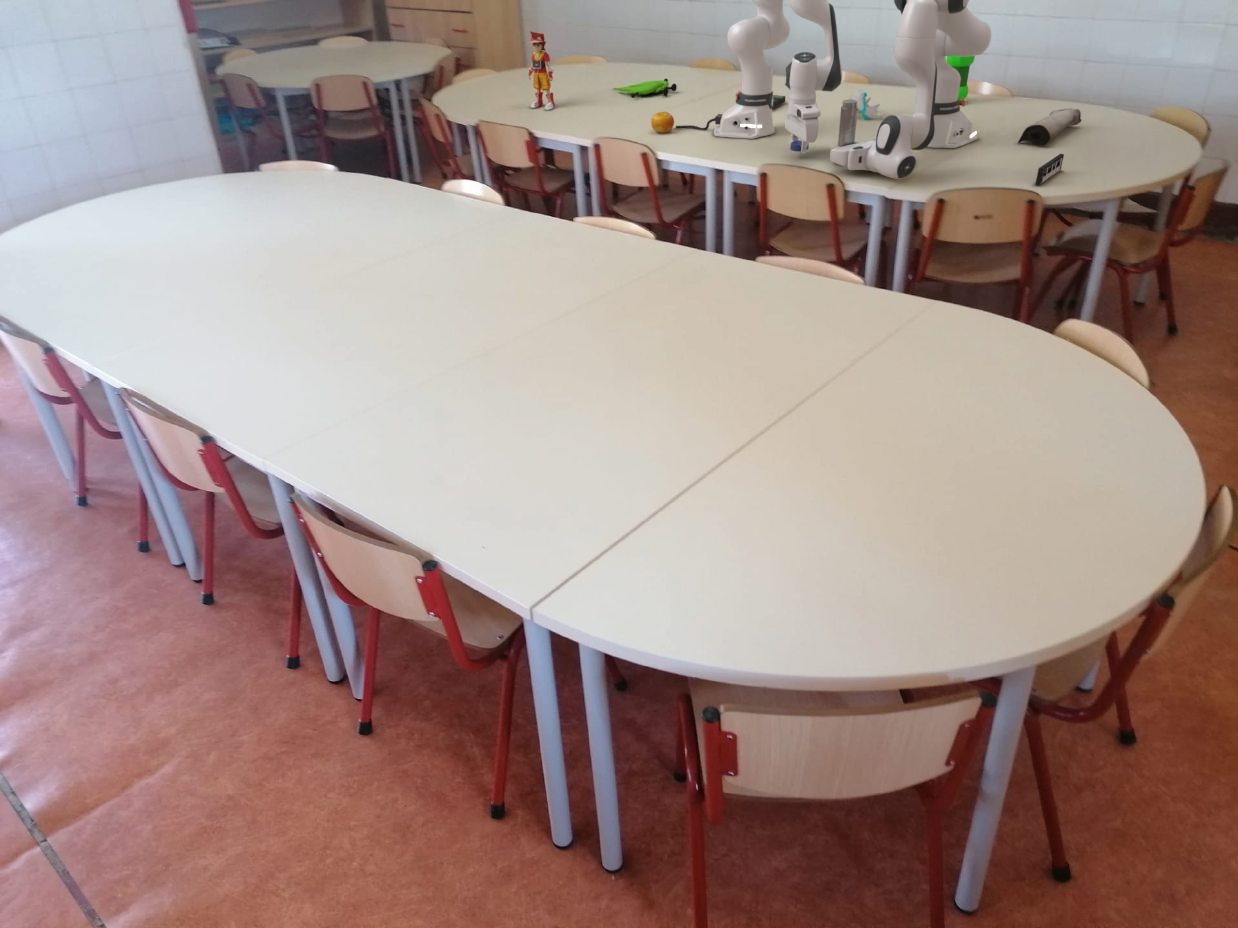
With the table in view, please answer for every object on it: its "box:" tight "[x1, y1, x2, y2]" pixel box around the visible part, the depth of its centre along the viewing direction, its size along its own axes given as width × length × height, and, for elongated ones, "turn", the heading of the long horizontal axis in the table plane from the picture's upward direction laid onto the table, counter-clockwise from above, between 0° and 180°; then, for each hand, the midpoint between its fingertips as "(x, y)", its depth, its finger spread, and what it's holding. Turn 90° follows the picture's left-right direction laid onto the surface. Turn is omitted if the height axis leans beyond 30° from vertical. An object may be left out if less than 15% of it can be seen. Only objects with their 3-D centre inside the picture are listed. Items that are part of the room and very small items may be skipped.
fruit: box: [650, 111, 675, 133], centre depth 339 cm, size 8×8×8 cm
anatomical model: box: [849, 88, 885, 120], centre depth 343 cm, size 15×10×10 cm
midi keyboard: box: [1035, 153, 1065, 186], centre depth 273 cm, size 18×1×5 cm, turn 138°
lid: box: [790, 140, 810, 153], centre depth 303 cm, size 6×6×2 cm
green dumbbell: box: [946, 55, 976, 100], centre depth 348 cm, size 10×10×25 cm
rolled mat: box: [1017, 107, 1082, 147], centre depth 310 cm, size 30×9×10 cm
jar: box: [837, 99, 859, 166], centre depth 292 cm, size 5×5×20 cm
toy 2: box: [612, 78, 677, 99], centre depth 396 cm, size 28×5×30 cm
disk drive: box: [772, 94, 786, 110], centre depth 364 cm, size 10×3×15 cm
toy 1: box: [527, 31, 556, 111], centre depth 374 cm, size 12×9×30 cm
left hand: (799, 149), depth 304 cm, fingers closed on lid, 6 cm apart
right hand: (844, 146), depth 295 cm, fingers closed on jar, 5 cm apart
